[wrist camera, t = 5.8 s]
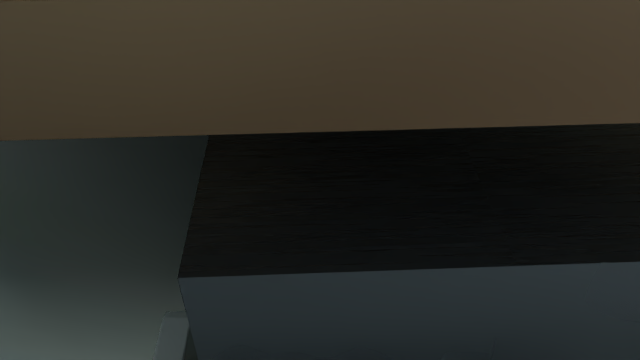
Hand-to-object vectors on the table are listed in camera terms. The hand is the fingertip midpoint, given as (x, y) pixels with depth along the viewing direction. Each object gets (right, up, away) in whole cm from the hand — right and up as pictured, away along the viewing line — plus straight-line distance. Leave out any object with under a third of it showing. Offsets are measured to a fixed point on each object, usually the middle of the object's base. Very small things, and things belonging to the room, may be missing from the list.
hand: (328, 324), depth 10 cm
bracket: (+2, +2, +1) cm, 3 cm away
